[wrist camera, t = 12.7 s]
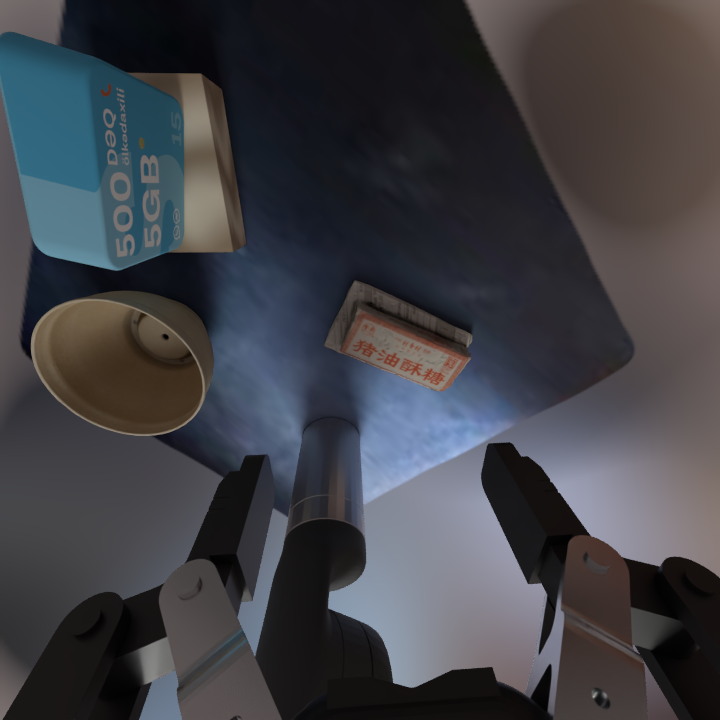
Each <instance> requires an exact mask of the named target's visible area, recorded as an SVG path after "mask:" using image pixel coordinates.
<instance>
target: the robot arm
mask: <svg viewBox="0 0 720 720" xmlns="http://www.w3.org/2000/svg"><path fill="white" fill-rule="evenodd" d="M481 479H482V486H483V489H484V491H485V493H486V495H487V498H488V500H489V502H490V504H491V506H492V508H493V510H494V513H495V515H496V517H497V519H498V521H499V523H500V525H501V527H502V530H503V532H504V534H505V536H506V538H507V540H508V542H509V544H510V546H511V548H512V551H513V553H514V555H515V557H516V559H517V561H518V564H519V566H520V568H521V570H522V572H523V574H524V576H525V578H526V580H527V583H528V584H537V583H542V585H543V587H544V589H545V591H546V594H545V597H544V603H543V609H542V615H541V621H540V627H539V633H538V639H537V645H536V651H535V657H534V662H533V666H532V670H531V673H530V676H529V679H528V684H527V688H526V693H525V694H523V693H522V692H520V691H518V690H517V689H515V688H513V687H511V686H509V685H506V684H504V683H501V682H498V681H497V680H496V677H495V674H494V671H493V668H492V667H487V668H473V669H460V670H451V671H449V672H447V673H445V674H443V675H441V676H439V677H436V678H434V679H433V680H430V681H428V682H426V683H424V684H422V685H419V686H417V687H414V688H409V687H405V686H402V685H398V684H394V683H393V678H392V671H391V665H390V661H389V656H388V652H387V649H386V647H385V645H384V642H383V640H382V638H381V637H380V636H379V634H378V633H377V632H376V631H375V630H374V629H373V628H371V627H370V626H368V625H367V624H364V623H362V622H360V621H358V620H355V619H353V618H351V617H348V616H346V615H343V614H341V613H338V612H335V611H333V610H330V609H328V598H329V592H330V591H335V590H338V589H341V588H344V587H346V586H348V585H350V584H352V583H353V582H354V581H356V580H357V579H358V578H359V577H360V576H361V575H362V573H363V571H364V569H365V564H366V545H365V527H364V510H363V492H362V473H361V453H360V437H359V433H358V431H357V430H356V428H355V427H354V426H353V425H352V424H350V423H349V422H347V421H345V420H343V419H339V418H323V419H319V420H317V421H315V422H313V423H311V424H310V425H309V426H308V427H307V428H306V429H305V431H304V433H303V437H302V443H301V448H300V453H299V459H298V465H297V470H296V476H295V482H294V488H293V493H292V499H291V505H290V511H289V517H288V523H287V529H286V535H285V541H284V546H283V551H282V555H281V558H280V561H279V563H278V566H277V569H276V572H275V575H274V578H273V582H272V587H271V591H270V596H269V601H268V606H267V610H266V614H265V618H264V622H263V627H262V631H261V635H260V639H259V644H258V647H257V651H256V656H254V654H253V652H252V650H251V647H250V645H249V642H248V640H247V638H246V636H245V633H244V632H243V630H242V627H241V625H240V623H239V620H238V618H237V616H238V613H239V608H240V604H241V602H245V601H246V602H247V601H252V600H253V596H254V591H255V587H256V582H257V577H258V573H259V568H260V564H261V559H262V555H263V550H264V545H265V541H266V537H267V532H268V527H269V523H270V518H271V514H272V509H273V505H274V499H275V484H274V479H273V474H272V469H271V464H270V460H269V456H268V455H267V454H266V455H247V456H245V458H244V460H243V463H242V466H241V468H240V471H233V472H229V473H228V475H227V476H226V477H225V478H224V479H223V480H222V481H221V482H220V484H219V486H218V488H217V490H216V493H215V495H214V497H213V501H212V502H211V505H210V507H209V511H208V512H207V514H206V516H205V519H204V522H203V524H202V526H201V528H200V531H199V533H198V536H197V538H196V540H195V543H194V545H193V547H192V550H191V552H190V555H189V557H188V559H187V561H186V562H185V564H183V565H181V566H180V567H179V568H177V569H176V570H175V571H174V572H173V573H172V574H171V575H170V576H169V577H168V579H167V580H166V582H165V583H164V584H162V585H160V586H158V587H156V588H153V589H151V590H148V591H146V592H143V593H140V594H138V595H135V596H133V597H130V598H127V599H125V600H122V598H121V597H120V596H119V595H118V594H116V593H113V592H104V593H100V594H97V595H94V596H92V597H90V598H88V599H87V600H85V601H83V602H82V603H81V604H79V605H78V606H77V607H76V608H74V609H73V610H72V611H71V612H70V613H69V614H68V615H67V616H66V617H65V618H64V620H63V621H62V622H61V624H60V625H59V627H58V628H57V630H56V631H55V633H54V635H53V636H52V638H51V640H50V642H49V643H48V645H47V646H46V648H45V650H44V652H43V653H42V655H41V657H40V658H39V660H38V661H37V663H36V665H35V667H34V668H33V670H32V672H31V673H30V675H29V677H28V678H27V680H26V682H25V683H24V685H23V686H22V688H21V690H20V691H19V693H18V695H17V697H16V698H15V700H14V701H13V703H12V705H11V707H10V708H9V710H8V711H7V713H6V715H5V717H4V718H3V720H139V718H140V715H141V712H142V709H143V706H144V703H145V701H146V697H147V695H148V692H149V689H150V686H151V683H152V681H154V680H156V679H158V678H160V677H162V676H164V675H167V674H169V673H171V672H173V671H175V670H176V673H177V678H178V683H179V687H178V688H177V697H178V703H179V707H180V712H181V716H182V720H648V710H647V695H646V681H645V668H644V663H643V660H644V662H645V663H646V665H647V667H648V668H649V670H650V672H651V674H652V675H653V677H654V679H655V680H656V682H657V684H658V685H659V687H660V689H661V690H662V692H663V694H664V696H665V697H666V699H667V700H668V702H669V704H670V706H671V707H672V709H673V711H674V712H675V714H676V716H677V717H678V719H679V720H720V578H719V577H718V576H717V575H715V574H714V573H713V572H711V571H710V570H708V569H707V568H705V567H704V566H702V565H700V564H698V563H696V562H693V561H692V560H689V559H686V558H681V557H669V558H667V559H666V560H664V562H663V563H662V564H661V566H660V567H659V566H655V565H651V564H647V563H642V562H638V561H634V560H630V559H626V558H623V557H621V556H620V555H619V554H618V552H617V551H616V550H614V549H613V548H612V547H611V546H609V545H608V544H606V543H605V542H603V541H601V540H599V539H597V538H594V537H591V536H590V534H589V533H588V532H587V530H586V529H585V528H584V526H583V525H582V524H581V522H580V521H579V519H578V518H577V517H576V515H575V514H574V512H573V511H572V509H571V508H570V507H569V505H568V504H567V503H566V501H565V500H564V498H563V497H562V496H561V494H560V493H558V490H557V489H556V487H555V486H554V484H553V483H552V482H550V479H549V477H548V476H547V475H546V473H545V472H544V470H543V469H542V468H541V467H540V466H539V465H538V464H537V463H535V462H534V461H533V460H532V459H530V458H529V457H527V456H526V457H521V456H520V454H519V453H518V451H517V450H516V448H515V447H514V445H513V444H512V443H510V442H509V443H491V444H488V446H487V449H486V454H485V459H484V463H483V468H482V473H481ZM632 644H633V645H635V647H636V648H637V650H638V652H639V653H640V654H638V653H636V652H635V651H634V650H633V645H632ZM640 655H641V656H640ZM642 658H643V659H642Z"/></svg>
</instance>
